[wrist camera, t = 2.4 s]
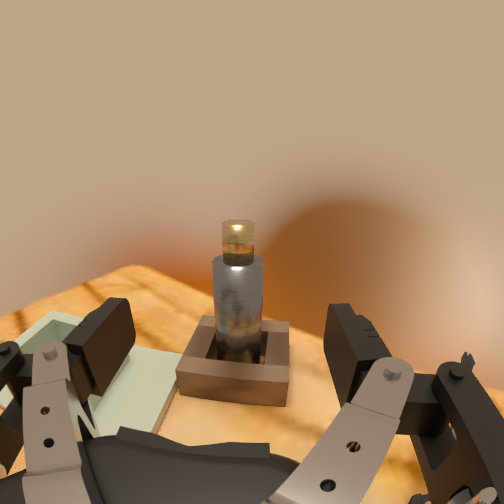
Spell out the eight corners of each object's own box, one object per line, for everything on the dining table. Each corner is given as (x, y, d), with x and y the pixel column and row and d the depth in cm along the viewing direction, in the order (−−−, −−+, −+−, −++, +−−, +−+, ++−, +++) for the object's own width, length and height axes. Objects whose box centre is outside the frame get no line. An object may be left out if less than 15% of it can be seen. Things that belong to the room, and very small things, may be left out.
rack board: (-20, 391, 15) (-41, 352, 13) (48, 329, 28) (37, 294, 26) (135, 479, 13) (110, 443, 11) (188, 362, 26) (183, 320, 24)
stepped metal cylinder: (214, 380, 24) (205, 228, 19) (222, 354, 27) (218, 217, 23) (257, 384, 23) (263, 230, 19) (261, 357, 27) (266, 218, 23)
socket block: (179, 394, 22) (174, 369, 21) (204, 338, 30) (203, 315, 29) (285, 406, 21) (288, 382, 20) (286, 344, 29) (288, 321, 28)
